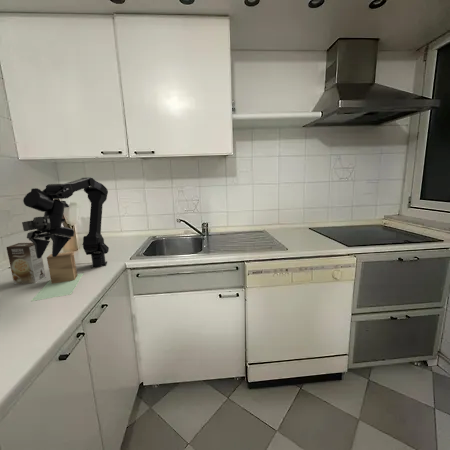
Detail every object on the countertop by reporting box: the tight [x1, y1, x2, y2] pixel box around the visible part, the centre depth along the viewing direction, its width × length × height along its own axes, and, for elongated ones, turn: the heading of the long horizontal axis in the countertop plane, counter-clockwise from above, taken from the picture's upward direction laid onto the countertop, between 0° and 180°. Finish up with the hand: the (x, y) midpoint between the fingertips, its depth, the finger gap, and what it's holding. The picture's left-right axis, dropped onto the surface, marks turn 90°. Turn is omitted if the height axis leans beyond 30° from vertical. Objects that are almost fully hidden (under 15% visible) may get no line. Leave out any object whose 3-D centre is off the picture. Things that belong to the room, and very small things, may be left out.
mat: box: [30, 272, 85, 302], centre depth 93 cm, size 22×12×1 cm, turn 20°
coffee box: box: [5, 242, 46, 285], centre depth 98 cm, size 9×6×16 cm
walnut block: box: [46, 250, 78, 284], centre depth 97 cm, size 5×8×11 cm, turn 110°
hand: (46, 257), depth 84 cm, fingers open, 9 cm apart
